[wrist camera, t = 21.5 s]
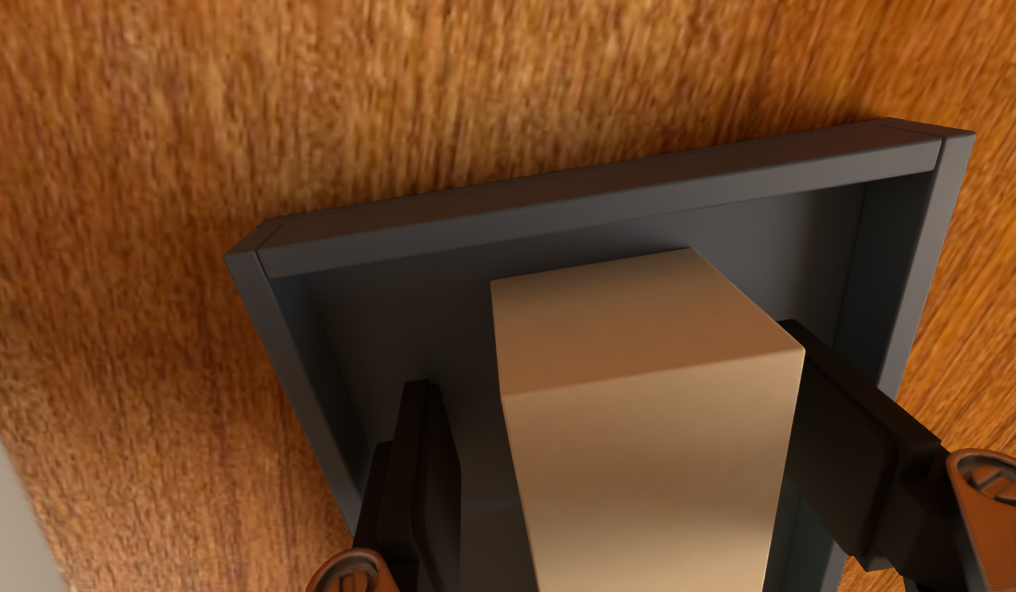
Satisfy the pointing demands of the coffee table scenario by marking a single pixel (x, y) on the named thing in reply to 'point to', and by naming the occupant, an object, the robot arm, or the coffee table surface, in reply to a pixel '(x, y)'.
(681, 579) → the cream pad
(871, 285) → the tray
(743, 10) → the coffee table surface
